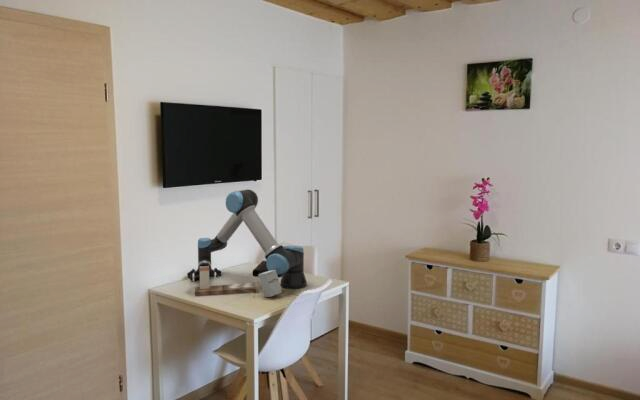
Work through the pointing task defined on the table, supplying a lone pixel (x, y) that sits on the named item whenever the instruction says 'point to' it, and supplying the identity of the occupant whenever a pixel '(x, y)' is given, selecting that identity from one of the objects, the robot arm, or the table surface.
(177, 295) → the table surface
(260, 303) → the table surface
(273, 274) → the supplement box
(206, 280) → the stub
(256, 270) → the diary
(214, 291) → the board
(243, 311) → the table surface
